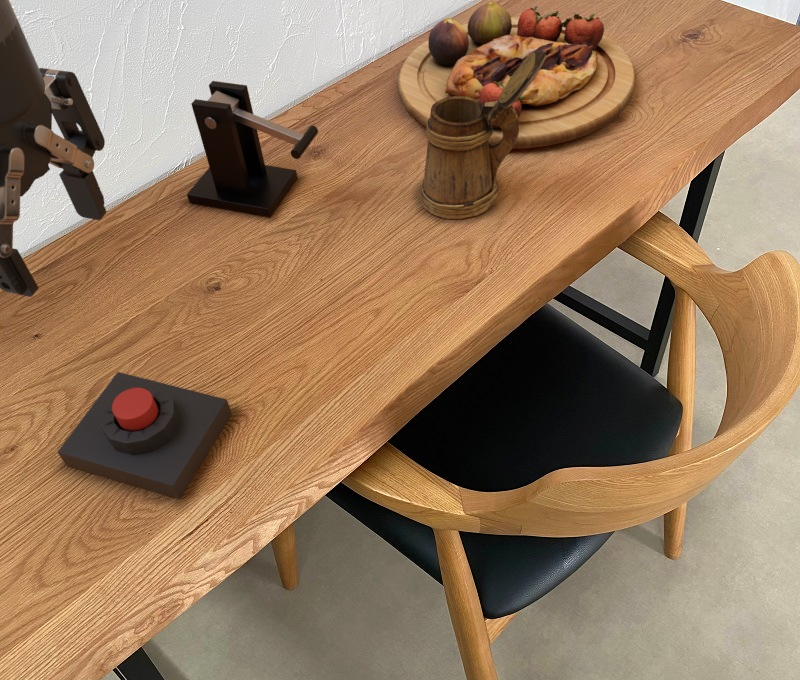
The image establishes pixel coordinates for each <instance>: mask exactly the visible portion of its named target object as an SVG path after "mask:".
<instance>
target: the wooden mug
mask: <svg viewBox="0 0 800 680" xmlns="http://www.w3.org/2000/svg"><path fill="white" fill-rule="evenodd" d="M546 57H547V56H546V54H545V52H544V51H537V52H534V53H532V54H530V55H529V56H528V57H527V58H526V59H525V60H524V61H523V62H522V63H521V65H520V66H519V67H518V68H517V70H516V71H515V72H514V74H513V75H512V77H511V78H510V80H509V81H508V83H507V84H506V86H505V88H504V90H503V91H502V93H501V95H500V97H499V99H498V100H497V101H496V102H486V103H483V104H481V102H479V101H478V100H477V99H474V98H471V97H466V96H451V97H446V98H443V99H441V100H439V101H437V102H436V103H434V104H433V105H432V108H431V113H430V118H429V119H428V121H427V127H425V137H426V140H427V147H426V155H425V156H426V157H425V166H424V173H423V174H424V175H423V178H422V181H421V186H420V192H419V199H420V203H421V205H422V207H423V208H424V209H425V210H426V211H427V212H428V213H430V214H432V215H434V216H435V217H438V218H443V219H448V220H460V219H466V218H471V217H472V218H473V217H476V216H478V215H480V214H483V213H485V212H486V211H488V210H489V209H490V208H491V207H492V206H493V205H494V203H495V201H496V199H497V197H498V196H499V186H498V181H497V180H498V179H497V174H498V169H499V168H500V166H501V164H502V163H503V161H504V160H505V159H506V158H507V156H508V155H509V153H510V152H511V151H512V149H513V148H512V147H513V146H514V144H515V143H516V141H517V138H518V134H519V131H520V129H519V119H518V116H517V113H516V111H515V109H514V107H513V106H512V104H513V103H514V102H516V101H517V99H518V98H519V97H520V96H521V95H522V94H523V93H524V91H525V90H526V89H527V88H528V86H529V85H530V84H531V83H532V81H533V80H534V78H535V77H536V75H537V74H538V72H539V70H540V69H541V67H542V65H543V63H544V61H545V59H546ZM492 125H496V126H499V127H500V128H501V130H502V131H503V138H502V140H501V141H500V142H499V143H497V144H494V145H491V144H489V143H488V139H489V138H490V137H491V135H492V134H493V129H492Z"/></svg>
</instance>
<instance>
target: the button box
mask: <svg viewBox="0 0 800 680" xmlns="http://www.w3.org/2000/svg"><path fill="white" fill-rule="evenodd" d="M132 388H143V389H146V390H148V391H149V392H150V393H151V394H152V396H153V398H154V401H155V403H156V405H157V407H158V415H157V418H156V419H155V421H154V422H153V423H152V424H151V425H149V426H148V427H146V428H144V429H141V430H137V431H130V430H126V429H124V428H122V427H121V426H120V424H119V423H118V421H117V419H116V417H115V415H114V414H113V411H112V404H113V402H114V400H115V398H116V397H117V396H118V395H119V394H121V393H122V392H124V391H126V390H128V389H132ZM232 415H233V412H232V409H231V407H230V404H229V402H228V399H227V398H223V397H219V396H215V395H211V394H207V393H204V392H199V391H195V390H192V389H188V388H184V387H179V386H176V385H171V384H168V383H164V382H159V381H156V380H152V379H148V378H144V377H141V376H135V375H131V374H128V373H124V372H120V371H117V372H116V373H115V375H114V376H113V377H112V379H111V380H110V381H109V383H108V384H107V386H106V387H105V388H104V389H103V391H102V392H101V393H100V395H99V396H98V397H97V399H96V400H95V401H94V403H93V404H92V405H91V406H90V408H89V409H88V410H87V412H86V413H85V415H84V416H83V417H82V418H81V420H80V421H79V422H78V424H77V425H76V427H75V428H74V429H73V430H72V432H70V434H69V436H68V437H67V438H66V440H65V441H64V442H63V444H62V445H61V446H60V448H59V449H58V450H57V454H58V456H59V457H60V458H61V460H62V462H63V463H64V465H65V466H66V467H69V468H71V469H72V468H73V469H76V470H79V471H83V472H86V473H89V474H92V475H96V476H100V477H102V478H107V479H109V480H113V481H116V482H119V483H123V484H127V485H130V486H133V487H137V488H139V489H144V490H147V491H150V492H154V493H157V494H160V495H164V496H167V497H170V498H174V499H178V500H181V498H183V495H184V494H185V492H186V490H187V488H188V487H189V486H190V484H191V482H192V480H193V479H194V477H195V476H196V473H197V472H198V470H199V469H200V467H201V466H202V464H203V463H204V461H205V459H206V457H207V456H208V454H209V452H210V451H211V449H212V447H213V446H214V445H215V443H216V441H217V439H218V438H219V437H220V435H221V432H222V431H223V430H224V428H225V426H226V425H227V424H228V422H229V420H230V419H231V417H232Z"/></svg>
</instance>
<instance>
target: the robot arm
mask: <svg viewBox="0 0 800 680" xmlns="http://www.w3.org/2000/svg"><path fill="white" fill-rule="evenodd" d="M53 118H54V120H55V123H56V125H57V126H58V128H59V130H60V132H61V135H62V136H63V137H62V136H60V135H58V134H56V133H55V132H54V131H53V130H52V129H53V127H52V125H53ZM79 128H80V129H81V130H80V129H79ZM105 143H106V141H105V137H104V134H103V133H102V131H101V128H100V126H99V123H98V120H97V119H96V116H95V115H94V113H93V110H92V108H91V105H90V104H89V102H88V99H87V97H86V95H85V92H84V91H83V88H82V86H81V83H80V82H79V80H78V77H77V75H76V74H75V73H74V72H73V71H68V70H60V69H51V68H46V67H44V68H43V67H39V65H38V63H37V60H36V59H35V56H34V54H33V52H32V49H31V46H30V44H29V42H28V40H27V38H26V36H25V33H24V30H23V28H22V26H21V24H20V22H19V20H18V17H17V14H16V12H15V10H14V8H13V5H12V3H11V1H10V0H0V289H1V291H3V292H5V293H9V294H14V295H18V296H23V297H29V298H32V297H33V296H34V295H35V294H36V293H37V291H38V290H39V285H38V284H37V282H36V280H35V279H34V277H33V275H32V273H31V271H30V270H29V268H28V266H27V264H26V262H25V260H24V259H23V257H22V255H21V253H20V252H19V250H18V249H17V248H13V247H14V223H15V222H17V221H18V220H19V219H20V217H21V197H23V196H24V195H25V194H27V192H29V190H30V189H31V187H32V185H33V184H34V182H35V181H36V180H38V179H40V178H42V177H44V176H45V175H46V174H47V173H49V171H50V170H51V168H50V166H49V165H52V166H54V167H55V168H58V169H61V170H62V171H61V172H60V173H59V174H58V175H59V178H60V180H61V182H62V185H63V186H64V188H65V190H66V192H67V195H68V197H69V199H70V201H71V203H72V205H73V208H74V210H75V213H77V215H78V216H80V217H81V218H84V219H89V220H94V221H101V220H102V218H104V216H106V215H107V210H106V207H105V196H104V194H103V192H102V190H101V187H100V185H99V182H98V180H97V178H96V175H95V173H94V168H95V160H94V158H93V157H94V156H95V153H96V151H97V152H100V151H102V150H103V149H104V148H105V145H106V144H105Z"/></svg>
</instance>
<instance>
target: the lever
mask: <svg viewBox="0 0 800 680" xmlns="http://www.w3.org/2000/svg"><path fill="white" fill-rule="evenodd" d="M206 101H212V102H219V103H226V104H231V108H232V112H233V116H234V120H235V121H237V122H239V123H241V124H244V125H246V126H249V127H251V128H254V129H256V130H257V131H259V132H261V133H264V134H266V135H269V136H271V137H274V138H277V139H278V140H281V141H284V142H286V143H288V144H292V145H294V146H293V148H292V149H291V150H290V156H291V157H292V158H293V159H295V160H299V159H300V158H301V157H302V156H303V155H304V153H305V152H306V150H307V149H308V148H309V146H310V145H311V144H312V142H313V141H314V140H315V138H316V137H317V135H318V134H319V129H318V128H317V126H315V125H313V124H312V125H309V126H308V127H307V129H306V130H305V131H304V133H301V132H298V131H296V130H294V129H291V128H288V127H285V126H284V125H281V124H278V123H275V122H274V121H271V120H269V119H266V118H263V117H261V116H258V115H256V114H254V113H253V114H251V113H249V112H246V111H244V110H241V109H239V100H238V99H236V98H234V97H231V96H229V95H226V94H224V93H221V92H219V91H216V92H215V93H214V94H213V95H212V96H210V97H209V98H208V99H207V100H206Z"/></svg>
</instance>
